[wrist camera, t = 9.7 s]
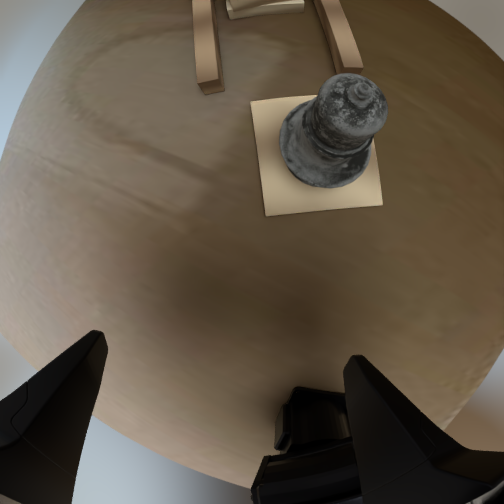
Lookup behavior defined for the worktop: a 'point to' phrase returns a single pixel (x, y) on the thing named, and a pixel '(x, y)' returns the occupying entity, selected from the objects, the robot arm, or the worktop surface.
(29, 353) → the worktop surface
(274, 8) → the offcut lower
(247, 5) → the offcut upper
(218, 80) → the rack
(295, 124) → the grey chess piece
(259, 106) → the cork mat
